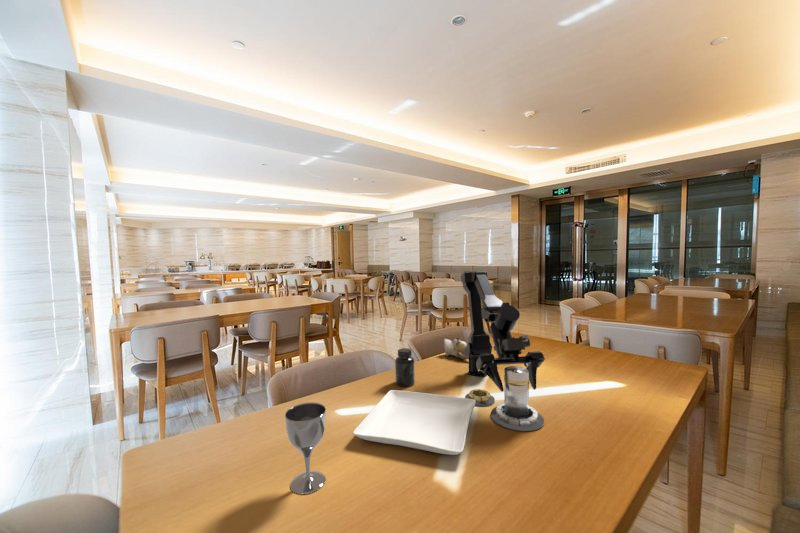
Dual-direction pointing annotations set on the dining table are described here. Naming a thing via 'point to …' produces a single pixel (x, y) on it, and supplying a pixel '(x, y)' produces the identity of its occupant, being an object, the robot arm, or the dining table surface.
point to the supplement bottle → (404, 368)
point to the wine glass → (306, 442)
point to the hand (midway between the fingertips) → (518, 390)
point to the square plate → (419, 421)
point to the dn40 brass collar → (481, 397)
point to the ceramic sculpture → (455, 348)
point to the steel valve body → (516, 392)
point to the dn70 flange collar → (517, 420)
